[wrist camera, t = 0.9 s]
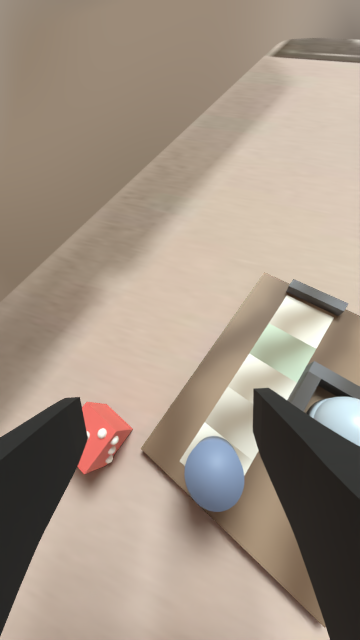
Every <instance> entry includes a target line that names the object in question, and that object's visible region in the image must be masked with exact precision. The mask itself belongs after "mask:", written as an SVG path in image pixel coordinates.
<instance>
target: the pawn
mask: <svg viewBox="0 0 360 640" xmlns="http://www.w3.org/2000/svg"><path fill="white" fill-rule="evenodd" d="M184 474H185V482H186V486H187V489H188V491H189V493H190V495H191V497H192V498H193V499H194V501H195V502H196V503H197V504H199V505H200V506H201V507H203V508H204V509H206V510H209V511H213V512H221V511H225V510H228V509H230V508H231V507H233V506H234V505H235V504H236V503H237V502H238V500H239V498H240V497H241V495H242V492H243V488H244V471H243V467H242V464H241V462H240V460H239V457H238V455H237V453H236V451H235V449H234V448H233V446H232V445H231V444H230V443H229V442H228V441H227V440H225V439H224V438H222V437H218V436H209V437H206V438H204V439H202V440H201V441H200V442H199V443H198V444H197V445H196V447H195V448H194V449H193V450H192V451H191V453H190V454H189V456H188V458H187V461H186V464H185V473H184Z"/></svg>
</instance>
